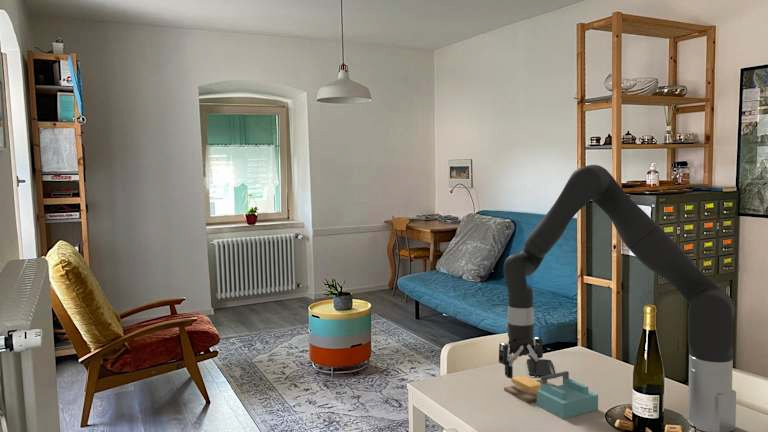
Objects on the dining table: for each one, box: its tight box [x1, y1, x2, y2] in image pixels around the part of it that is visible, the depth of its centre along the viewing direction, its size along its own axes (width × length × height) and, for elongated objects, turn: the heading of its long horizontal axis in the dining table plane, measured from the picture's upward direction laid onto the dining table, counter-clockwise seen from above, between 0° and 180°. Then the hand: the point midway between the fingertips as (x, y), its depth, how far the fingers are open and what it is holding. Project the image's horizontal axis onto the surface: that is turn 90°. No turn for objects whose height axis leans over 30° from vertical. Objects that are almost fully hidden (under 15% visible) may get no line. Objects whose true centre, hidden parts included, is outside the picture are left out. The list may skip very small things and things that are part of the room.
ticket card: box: [510, 375, 541, 394], centre depth 169 cm, size 13×5×1 cm, turn 26°
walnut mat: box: [503, 378, 557, 404], centre depth 168 cm, size 11×14×1 cm
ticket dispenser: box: [536, 370, 599, 420], centre depth 156 cm, size 10×12×8 cm
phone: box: [526, 358, 556, 378], centre depth 187 cm, size 8×1×15 cm
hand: (521, 375), depth 173 cm, fingers open, 8 cm apart
